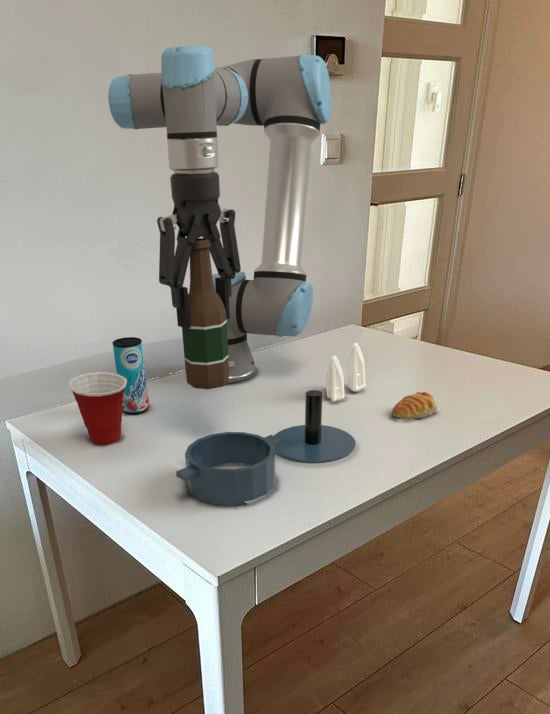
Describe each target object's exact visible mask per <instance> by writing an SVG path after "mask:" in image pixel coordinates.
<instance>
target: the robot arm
mask: <svg viewBox="0 0 550 714" xmlns="http://www.w3.org/2000/svg"><path fill="white" fill-rule="evenodd" d="M160 63H161V64H160V65H161V70H160V71H161V72H148V73H137V74H136V73H135V74H132V73H127V74H126V75H125V74H124V75H119V76H115V77H114V78H113V79H112V80H111V82H110V84H109V86H108V92H107V100H108V106H109V111H110V115H111V117H112V119H113V121H114V123H115V124H116V125H117V126H118V127H119V128H121V129H125V130H129V129H130V130H135V131H137V130H145V129H157V128H159V129H160V128H162V129H163V128H166V139H167V140H166V141H167V142H166V143H167V157H168V168H169V170H170V171H173V173H171V175H170V177H169V178H170V179H169V180H170V192H171V199H172V202H173V209H172V214H170V215H168V216H159V217H157V219H156V222H157V227H158V230H159V259H158V261H159V262H158V263H159V264H158V282H159V284H160V285H164V286H167V287H169V288H170V294H171V305H172V308H174V309H176V320H177V327H179V328H182V327H183V328H186V329H189V328H191V327H190V314H189V301H188V293H189V290H188V288H189V287H186V286H184V283H185V278H186V274H187V270H188V266H189V263H190V253H191V249H192V246H193V245H194V244H195V240H196V239H197V238H204V239H208V240H209V241H210V244H211V246H210V248H209V251H210V257H211V259H212V261H213V264H214V266H215V269H216V270H217V273H214V274H213V273H212V277H213V284H214V288H215V291H216V293H217V294H218V295H219V297H220V298H221V300H222V302H223V304H224V307H225V310H226V318H227V337H228V359H229V380H228V382H227V383H226V384H225V385H229V384H235V383H241V382H243V381H247V380H249V379H251V378H253V377H254V376H255V375H256V373H257V372H256V363H255V362H256V361H255V360H254V357H253V354H252V350H251V348H250V345H249V343H248V334H249V335H261V336H262V335H263V336H275V337H279V338H280V337H281V338H283V337H296V336H297V337H298V336H299V335H300V334H301V333H302V332H303V331H304V330H305V328H306V326H307V324H308V323H309V321H310V320H309V319H310V316H311V312H312V309H313V302H314V287H313V284H312V283H311V282H309V281H307V272H306V271H305V270H304V269H303V267H302V264H301V262H302V253H303V241H304V231H305V230H304V229H305V228H304V227H305V220H306V219H305V218H306V207H307V194H308V185H309V172H310V163H311V153H312V151H311V150H312V144H313V143H314V142H315V141H316V140H317V139H318V138H319V136H320V132H321V125H325V124H328V123H329V122H330V119H331V115H332V88H331V79H330V75H329V70H328V67H327V65H326V62H325V60H324V59H323V58H322V57H321V56H319V55H311V54H310V55H306V54H305V55H304V54H298V55H292V56H291V55H289V56H281V57H268V58H267V57H266V58H254V59H249V60H243V61H240V62H236V63H231V64H228V65H225V66H215V61H214V53H213V51H212V49H211V48H210V47H209V46H206V45H177V46H171V47H166V48H165V49H164V50H163V51H162V53H161V56H160ZM232 124H234V125H242V126H251V127H252V126H255V127H256V126H257V127H258V126H259V127H260V126H261V127H263V134H264V135H265V136H266V137H267V139H268V140H269V155H268V166H267V167H268V169H267V183H266V195H265V196H266V197H265V208H264V209H265V211H264V223H263V224H264V226H263V238H262V252H261V262H260V264H259V265H258V266H257V267H256V268H255V269H254V270H253V278H252V279H247V275H246V274H245V273H246V272H244V271H241V269H242V266H241V261H240V255H239V248H238V240H237V234H236V233H237V232H236V226H235V222H236V210H235V209H229V208H221V206H220V203H219V199H220V196H221V189H220V188H221V186H220V174H218V172H217V171H216V170H215V169H217V168H218V167H219V149H218V148H219V147H218V127H223V126H225V127H227V126H230V125H232ZM217 126H218V127H217ZM218 222H219V228H218V226H217V224H218ZM177 227H178V231H177V235H176V233H175V232H176V231H175V230H176V229H177Z"/></svg>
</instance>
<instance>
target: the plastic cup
mask: <svg viewBox="0 0 550 714" xmlns="http://www.w3.org/2000/svg"><path fill="white" fill-rule="evenodd" d="M126 384H127V380H126V379H125V378H124V377H123V376H120V375H118V374H117V373H113V372H108V371H94V372H88V373H83V374H79V375H76V376H75V377H73V378H72V379H70V380H69V382H68V383H67V386H68V388H69V390H70V391H71V392H72V395H73V397H74V400H75V402H76V404H77V407H78V409H79V413H80V415H81V418H82V422H83V424H84V426H85V428H86V431H87V434H88V437H89V439H90V441H91V443H92V444H95V445H99V446H108V445H111V444H115V443H117V442H119V440H121V436H122V422H123V410H122V404H123V393H124V388H125V387H126Z"/></svg>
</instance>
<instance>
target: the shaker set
mask: <svg viewBox="0 0 550 714" xmlns="http://www.w3.org/2000/svg"><path fill="white" fill-rule="evenodd" d="M366 385H367V384H366V367H365V359H364V355H363V353H362V350H361V347H360V345H359V343H358V342H354V343H353V344H352V346H351V350H350V353H349V357H348V361H347V387H348V389H349V390H350V391H351V392H354V393H359V392H360V391H363V390H364V389H365V388H366ZM325 386H326V398H327V399H328V398H329V399H331V402H336V400H341V399H344V398H345V381H344V371H343V369H342V367H341V363H340V361H339V359H338V357H337V356H336V355H335V354H333V355H331V357H330V360H329V363H328V367H327V371H326V375H325Z"/></svg>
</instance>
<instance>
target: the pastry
mask: <svg viewBox="0 0 550 714" xmlns="http://www.w3.org/2000/svg"><path fill="white" fill-rule="evenodd" d="M437 410H438V405H437V404H436V400H435V399H434V395H432V394H431V393H430V392H427V391H421V392H420V391H417V392H416V393H413V394H408V395H406V396H403V397H402V398H401V399H400V400H399V401H398V402H397V403H395V405H394V406H393V408H392V417H395V418H398V419H400V420H409V419H413V420H418V419H424V418H426V417H428V416H431V415H433V414H434V413H435V412H436V411H437Z"/></svg>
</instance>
